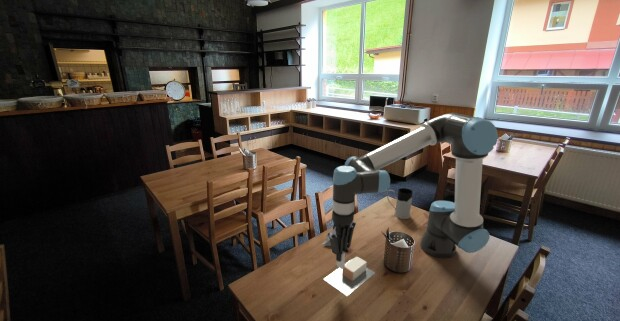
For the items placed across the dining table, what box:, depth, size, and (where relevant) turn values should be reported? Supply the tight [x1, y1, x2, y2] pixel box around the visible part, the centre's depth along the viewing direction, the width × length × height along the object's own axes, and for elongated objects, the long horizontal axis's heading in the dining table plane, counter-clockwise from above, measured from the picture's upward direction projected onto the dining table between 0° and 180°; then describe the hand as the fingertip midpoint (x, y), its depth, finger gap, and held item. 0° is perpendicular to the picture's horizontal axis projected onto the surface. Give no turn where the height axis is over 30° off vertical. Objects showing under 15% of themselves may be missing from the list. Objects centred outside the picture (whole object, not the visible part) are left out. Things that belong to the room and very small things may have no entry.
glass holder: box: [386, 187, 413, 220], centre depth 162 cm, size 9×14×15 cm, turn 59°
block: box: [342, 256, 368, 281], centre depth 115 cm, size 4×5×9 cm
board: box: [323, 258, 376, 297], centre depth 114 cm, size 18×12×1 cm, turn 134°
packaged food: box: [321, 234, 331, 247], centre depth 134 cm, size 9×12×5 cm
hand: (340, 266), depth 107 cm, fingers closed
